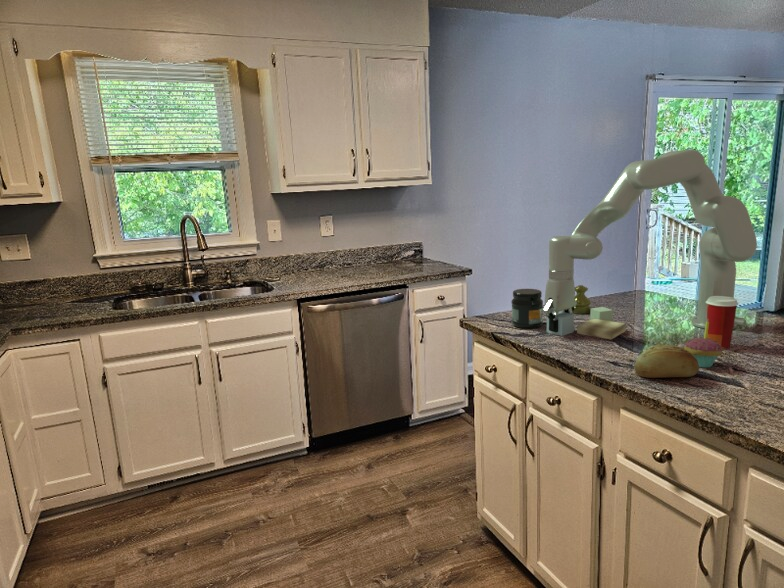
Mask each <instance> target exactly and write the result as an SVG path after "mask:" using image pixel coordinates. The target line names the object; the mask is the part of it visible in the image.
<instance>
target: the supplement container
mask: <svg viewBox="0 0 784 588" xmlns="http://www.w3.org/2000/svg"><path fill="white" fill-rule="evenodd" d="M542 296H543V295H542V290H540V289H538V288H537V289H536V288H517V289H515V290H513V291H512V297H513V298H512V300H511V301H510V302H511V324H512V325H513V326H514V327H516V328H518V329H519V328H520V329H535V328H540V327H541V326H543V322H544V319H543V316H544V315H543V313H544V311H543V310H544V308H543V306H544V301H543V299H542Z"/></svg>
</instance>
